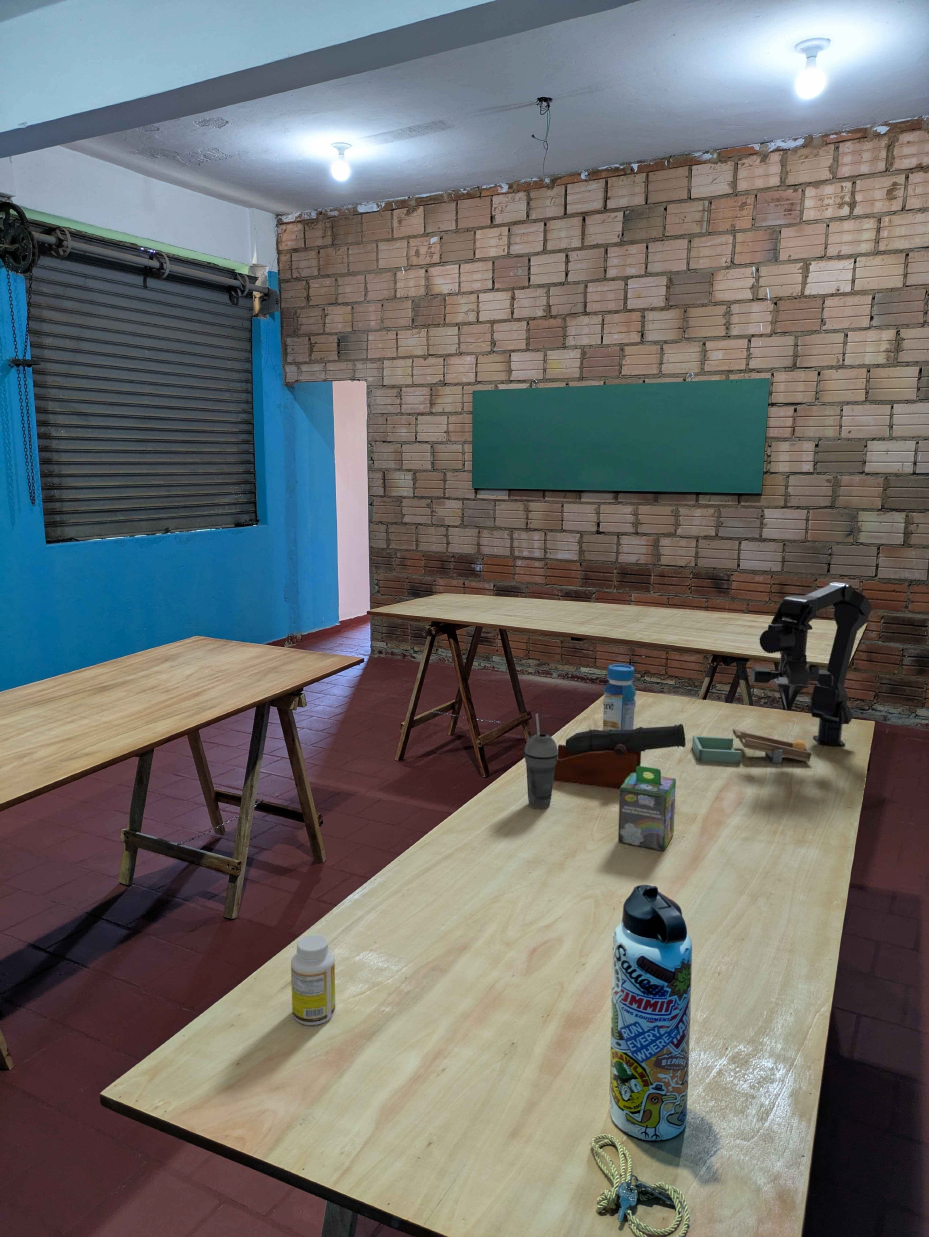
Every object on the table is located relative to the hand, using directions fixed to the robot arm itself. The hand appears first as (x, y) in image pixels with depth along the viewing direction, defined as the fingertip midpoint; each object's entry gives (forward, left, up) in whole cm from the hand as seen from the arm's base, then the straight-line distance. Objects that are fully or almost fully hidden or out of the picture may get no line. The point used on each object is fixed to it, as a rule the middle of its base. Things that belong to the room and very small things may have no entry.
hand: (788, 709), depth 211 cm
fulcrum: (+2, -3, -12) cm, 13 cm away
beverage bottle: (-5, -41, -12) cm, 43 cm away
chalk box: (+54, -39, -12) cm, 68 cm away
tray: (+2, -17, -12) cm, 21 cm away
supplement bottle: (+115, -87, -12) cm, 145 cm away
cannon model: (+24, -43, -12) cm, 51 cm away
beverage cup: (+41, -60, -12) cm, 74 cm away
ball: (+2, +3, -9) cm, 9 cm away
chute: (-1, -3, -10) cm, 11 cm away
